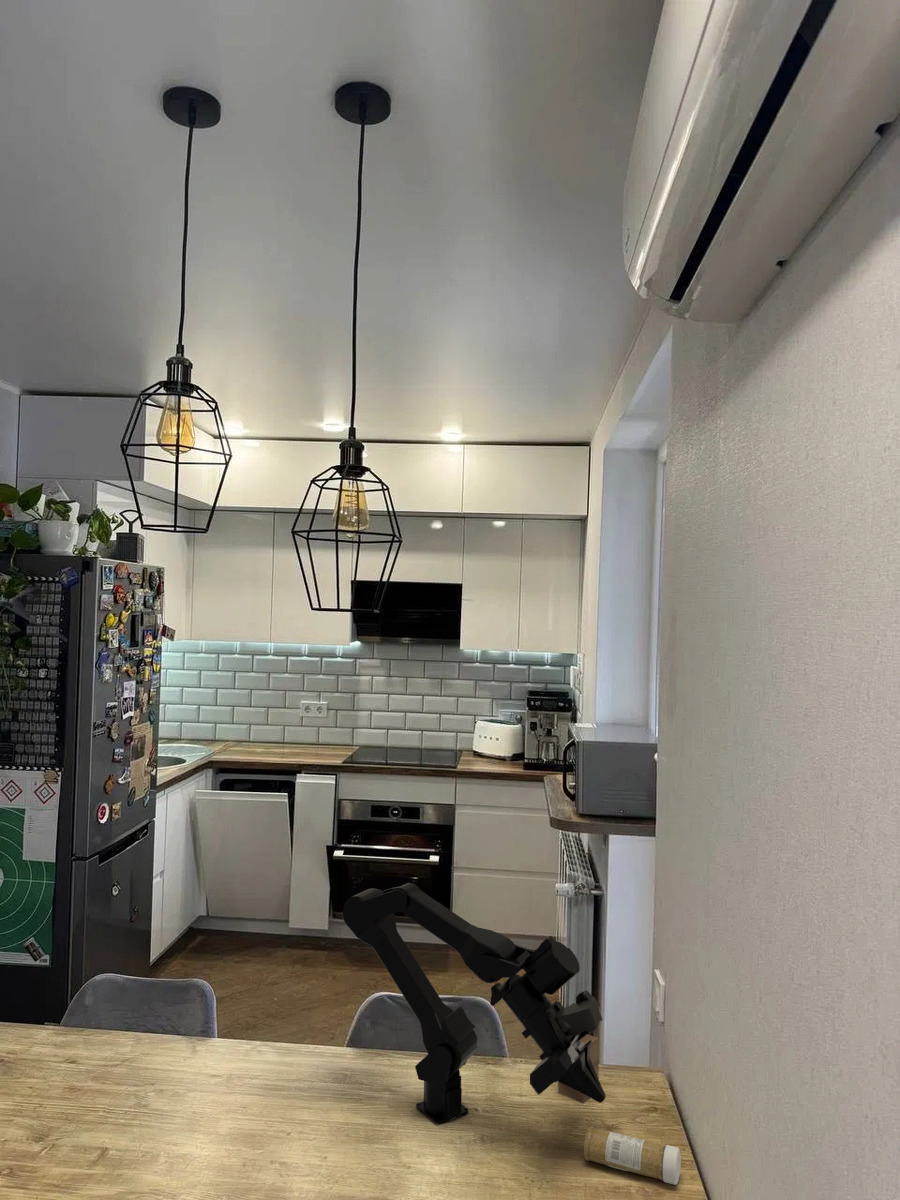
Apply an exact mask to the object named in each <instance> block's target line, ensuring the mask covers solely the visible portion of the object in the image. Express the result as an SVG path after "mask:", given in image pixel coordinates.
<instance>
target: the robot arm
mask: <svg viewBox="0 0 900 1200" xmlns="http://www.w3.org/2000/svg"><path fill="white" fill-rule="evenodd" d="M397 913H401V914H403V915H405V916H406V917H407V918H409V919H411V920H412V921H413V922H414V923H416V924H418V925H419V926H420V927H422V928H423V929H424V930H426V931H427V932H429V933H430V934H431V935H434V937H436V938H438V939H439V940H440V941H442V942H443V943H445V944H446V945H448V946H449V947H451V949H453V950H455V951H456V952H457V953H458V954H459V955H460V958H461V959H462V961H463V963H464V965H465V967H467V968H468V969H469V970H470V971H471V972H472V973H473V974H474V975H475V976H476V977H477V978H478V979H479V980H480V981H482V982H484V983H486V984H492V983H494V984H493V985H492V986H491V987H490V990H491V996H490V1001H489V1004H490V1005H491V1007H494V1006H496V1005H497V1004H498V1003H499V1002H500V1001H501V1000H503V1002H504V1003H505V1004H506V1006H507V1007H508V1008H509V1010H510V1011H511V1012H512V1013H513V1015H514V1016H515V1018H516V1019H517V1020H518V1021H519V1023H520V1025H522V1027H523V1028H524V1030H522V1032H521V1035H522V1036H523V1038H524V1039H527V1038H529V1037H531V1039H532V1040H533V1042H535V1044H536V1045H537V1047H538V1048H539V1049H540V1050H541V1053H540V1055H539V1056H538V1057H539V1059H540V1060H541V1061H540V1062H539V1063H537V1064H536V1066H535V1067H534V1069H533V1070H532V1071H531V1073H530V1074H529V1085H530V1086H531V1087H532V1088H533V1090H534V1091H535V1093H536V1094H537V1095H541V1094H542V1093H543V1092H544V1091H546V1090H547V1089H548V1088H549V1087H550V1086H552V1085H553V1083H558V1082H560V1083H562V1084H564V1085H567V1086H569V1087H571V1088H573V1089H575V1090H577V1091H579V1092H581V1093H582V1094H584V1095H586V1096H588V1097H590V1099H592V1101H593V1100H594V1101H595V1102H598V1103H599V1104H601V1103H603V1102H604V1101H605V1100H606V1097H607V1096H606V1094H605V1091H604V1089H603V1086H602V1083H601V1082H600V1080H599V1079H600V1078H599V1079H598V1077H597V1074H596V1072H595V1070H594V1067H593V1064H592V1062H591V1059H590V1051H591V1045H592V1041H591V1040H590V1041H589V1042H588V1043H586V1044H585V1045H584V1043H583V1042H582V1041H581V1042H580V1041H579V1040H581V1039H582V1038H583V1037H584V1036H586V1035H587V1034H588V1035H589V1033H590V1032H592V1033H594V1032H595V1030H596V1029H598V1027H599V1024H600V1022H602V1021H603V1016H602V1014H601V1013H600V1009H599V1008H600V1005H601V1003H600V1001H599V1000H597V999H596V996H593V995H592V994H591V993H590V992H589V991H588V990H583V991H580V992H579V993H577V995H576V996H575V1002H572V1003H571V1004H570V1005H568V1006H565V1007H564V1006H563V1004H562V1003H561V1002H560V1001H557V1000H555V1001H553V1003H552V1001H551V1000H550V998H549V997H548V996H547V995H550V996H551V995H554V994H555V993H557V992H558V991H560V989H562V987H564V986H565V985H566V984H567V983H568V982H570V981H571V980H572V979H573V978H574V977H575V976H576V975H578V974H579V973H580V969H581V967H580V966H581V965H580V963H579V961H578V958H577V957H576V954H575V953H574V952H573V950H572V949H571V948H570V947H567V946H566V945H565V944H564V943H562V942H560V941H557V940H556V939H554V937H553V936H552V935H549V936H547V938H545V939H544V940H542V942H541V943H540V944H539V946H538V947H537V948H536V949H535V950H533V949H529V948H527V947H523V946H522V945H521V946H520V945H519V944H515V943H514V942H513V940H511V938H509V937H508V936H505V935H503V934H501V933H499V932H496V931H494V930H492V929H487V928H481V927H478V926H476V925H473V924H472V923H469V922H468V921H467V920H466V919H464V918H463V917H461V916H460V915H458V914H456V913H455V912H453V911H452V910H451V909H449V908H448V907H446V906H444V905H443V904H442V903H441V902H439V901H437V900H436V899H434V898H432V897H431V896H430V895H428V894H427V893H426V892H424V891H422V890H421V889H420V887H419V886H418V885H416V884H415V883H412V882H407V883H405V884H402V885H400V886H396V887H391V888H388V889H385V890H382V889H378V888H374V887H372V888H368V889H366V890H363V891H362V892H359V893H356V894H354V895H352V896H351V897H349V898H347V900H346V901H345V902H344V903H343V907H342V913H341V916H342V919H343V923H344V924H345V925H346V927H348V929H349V930H350V931H351V932H352V933H353V934H354V936H355V937H356V939H359V940H360V941H362V942H363V943H365V944H366V945H368V946H370V947H371V948H372V949H373V950H374V952H375V953H376V955H377V957H378V958H379V959H380V961H381V963H382V964H383V966H384V968H385V969H386V970H387V972H388V974H389V975H390V977H391V979H392V981H393V982H394V984H395V985H396V987H397V989H398V990H399V992H400V994H402V997H403V998H404V1000H405V1001H406V1002H407V1004H408V1005H409V1007H410V1008H411V1011H412V1012H413V1014H414V1015H415V1017H416V1018H417V1020H418V1021H419V1024H420V1028H421V1029H420V1030H421V1035H422V1036H421V1037H422V1043H423V1046H424V1048H425V1051H426V1053H427V1055H426V1056H425V1057H423V1058H422V1059H421V1060H420V1061H419V1062H418V1063H417V1064H416V1065H415V1071H416V1076H417V1079H418V1080H419V1081H422V1082H423V1100H422V1101H420V1102H417V1103H415V1108H416V1109H417V1110H418V1111H420V1112H421V1113H422V1114H423V1115H424V1116H426V1118H428V1119H429V1120H430V1121H431V1122H433V1123H434V1124H436V1125H440V1124H442V1123H445V1122H448V1121H451V1120H453V1119H456V1118H460V1117H463V1115H467V1114H469V1108H468V1107H466V1106H465V1105H464V1104H462V1100H463V1099H462V1096H463V1095H462V1093H463V1091H462V1090H463V1089H462V1075H461V1072H460V1069H461V1068H462V1067H464V1066H466V1064H467V1063H468V1060H469V1059H470V1058H471V1057H472V1056H473V1055H474V1054H475V1052H476V1050H477V1049H478V1047H477V1046H478V1036H477V1033H476V1032H475V1030H474V1029H475V1028H476V1025H474V1024H473V1023H472V1021H470V1019H469V1018H468V1016H467V1014H466V1012H465V1010H464V1009H463V1007H462V1006H458V1007H457V1008H456V1009H452V1008H451V1007H449V1006H448V1005H446V1004H445V1003H444V1002H443V999H441V997H440V996H439V994H438V992H437V991H436V989H435V987H434V986H433V984H432V983H431V982H430V980H429V978H428V977H427V975H426V974H425V973H424V970H423V969H422V967H421V966H420V964H419V963H418V962H417V960H416V958H415V957H414V955H413V953H412V951H410V949H409V947H408V946H407V944H406V943H405V941H404V939H403V938H402V936H401V935H400V933H399V932H398V929H397V923H396V915H395V914H397ZM522 970H523V971H524V974H522V975H519V974H518V973H519V972H521V971H522ZM505 978H506V979H505ZM501 979H505V980H504V981H503V983H501V982H498V981H501ZM546 994H547V995H546Z"/></svg>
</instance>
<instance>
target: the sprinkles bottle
mask: <svg viewBox="0 0 900 1200" xmlns="http://www.w3.org/2000/svg"><path fill="white" fill-rule="evenodd" d="M583 1145H584V1146H583V1155H584V1160H586V1161H587V1162H593V1163H597V1164H599V1165H600V1164H601V1165H605V1166H607V1167H610V1168H613V1169H617V1170H621V1171H624V1172H631V1173H635V1174H638V1175H640V1176H641V1175H642V1176H646V1177H650V1178H653V1179H659V1180H660V1181H663V1182H664V1183H665V1184H666V1183H667V1184H670V1185H675V1186H676V1185H678V1184H679V1180H680V1175H681V1165H682V1161H681V1159H682V1158H681V1150H680V1148H679V1147H677V1146H672V1145H669V1144H667V1145H665V1144H660V1143H654V1142H652V1141H647V1140H645V1139H641V1138H638V1137H635V1136H634V1137H633V1136H629V1135H625V1134H623V1133H622V1134H621V1133H617V1132H614V1131H608V1130H604V1129H601V1128H596V1127H594V1126H592V1125H590V1126H588V1129H587V1130H586V1134H585V1137H584V1144H583Z"/></svg>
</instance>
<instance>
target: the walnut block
mask: <svg viewBox="0 0 900 1200" xmlns="http://www.w3.org/2000/svg"><path fill="white" fill-rule="evenodd" d="M590 1040H591V1041H592V1045H591V1051H590V1059H591V1062H592V1064H593V1067H594V1070H595V1072H596V1074H597V1077H598V1079H600V1078H599V1073H600V1072H599V1069H600V1068H599V1059H600V1058H599V1054H600V1053H599V1051H600V1049H599V1045H600V1044H599V1037H597V1036H594V1035H590V1034H589V1033H588V1034H587V1035H586V1036H584V1037H583V1038H582V1039H581V1040H579V1041H580V1042H581V1041H582V1042H583V1043H584V1045H585V1044H586V1043H588V1042H589V1041H590ZM557 1083H558V1084H557V1086H558V1087H557V1093H558V1094H559V1095H562V1096H564V1097H567V1098H569V1099H572V1100H574V1101H577V1102H579V1103H581V1104H585V1103H586V1102H587V1101H588V1100H590V1099H591V1098H590V1097H588V1096H586V1095H584V1094H582V1093H581V1092H579V1091H577V1090H575V1089H573V1088H571V1087H569V1086H567V1085H564V1084H562V1083H560V1082H558V1081H557Z"/></svg>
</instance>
